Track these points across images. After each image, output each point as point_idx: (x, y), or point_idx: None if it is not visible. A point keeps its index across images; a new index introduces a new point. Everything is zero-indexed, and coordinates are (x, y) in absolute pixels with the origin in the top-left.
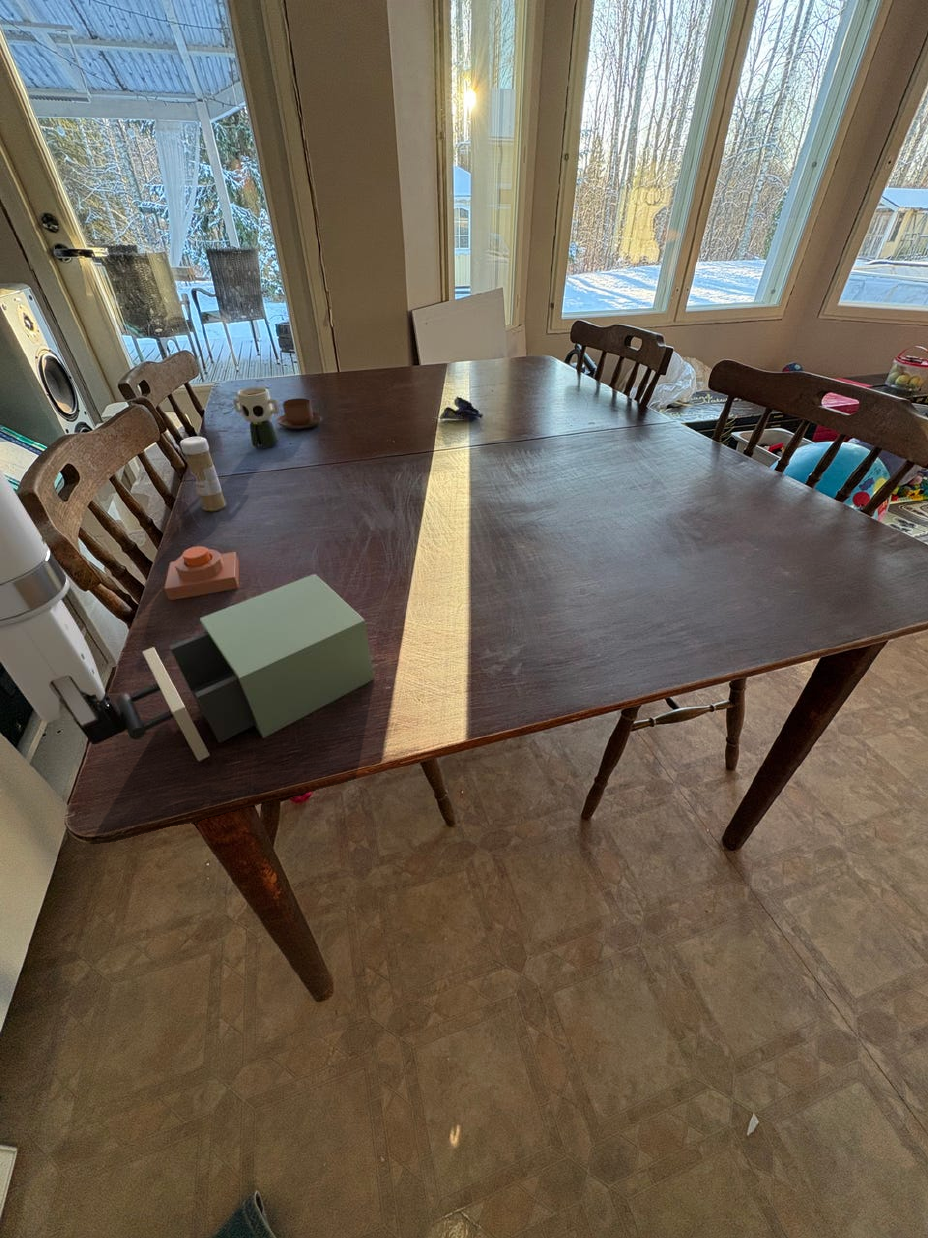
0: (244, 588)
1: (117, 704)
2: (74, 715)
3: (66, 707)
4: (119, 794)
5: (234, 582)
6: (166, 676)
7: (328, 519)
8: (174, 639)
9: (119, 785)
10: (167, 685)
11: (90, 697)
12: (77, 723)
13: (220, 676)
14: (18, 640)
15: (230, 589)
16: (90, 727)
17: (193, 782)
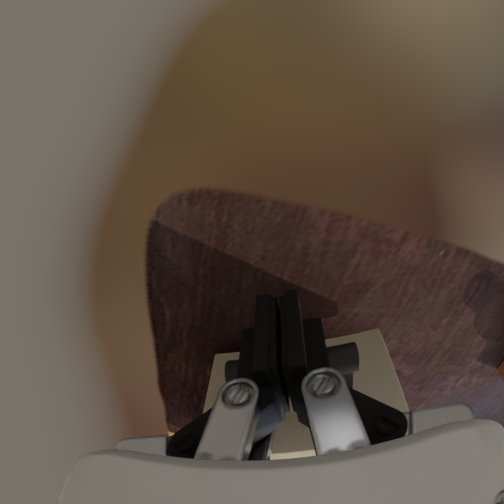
0: (491, 373)
1: (341, 354)
2: (176, 439)
3: (195, 455)
4: (210, 247)
5: (501, 374)
6: (301, 457)
7: (495, 415)
8: (490, 315)
9: (231, 247)
10: (273, 458)
11: (301, 417)
12: (252, 356)
13: None
14: None
15: (502, 362)
16: (239, 360)
17: (193, 333)
